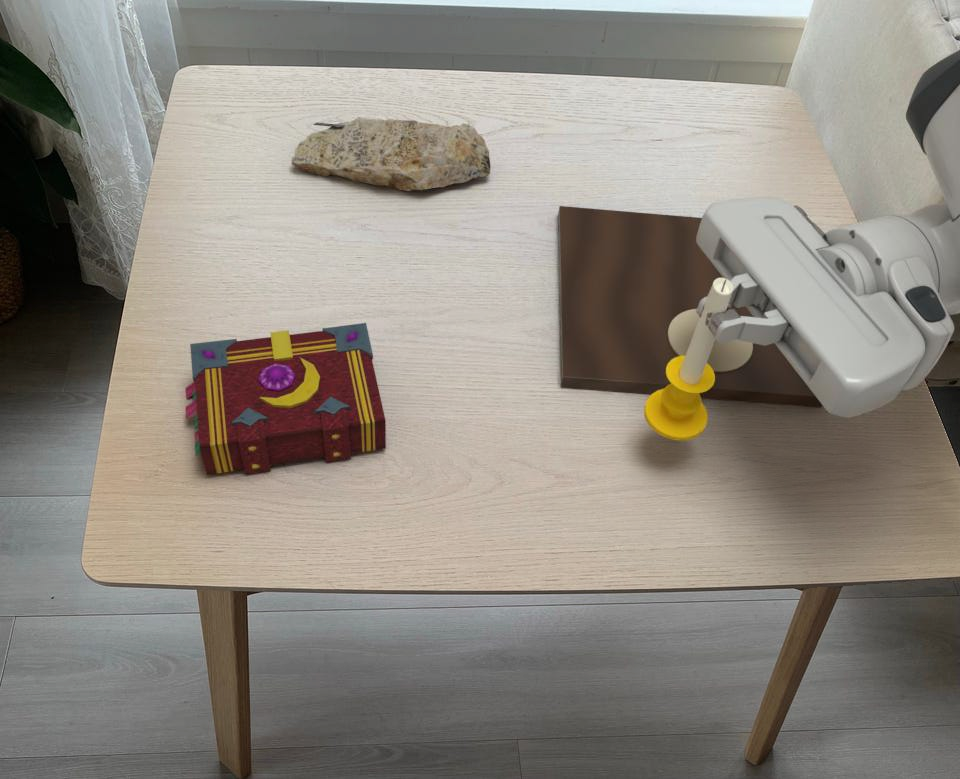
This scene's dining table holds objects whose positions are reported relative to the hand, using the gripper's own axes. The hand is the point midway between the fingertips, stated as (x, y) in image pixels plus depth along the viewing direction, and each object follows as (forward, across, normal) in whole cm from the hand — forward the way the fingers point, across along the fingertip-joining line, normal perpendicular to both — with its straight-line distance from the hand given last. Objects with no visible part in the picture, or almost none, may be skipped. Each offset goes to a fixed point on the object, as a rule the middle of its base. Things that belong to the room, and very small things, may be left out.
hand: (708, 321), depth 69 cm
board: (-11, -16, +17) cm, 26 cm away
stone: (+9, -45, +18) cm, 49 cm away
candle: (-1, -1, +12) cm, 12 cm away
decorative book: (+29, -15, +17) cm, 37 cm away
